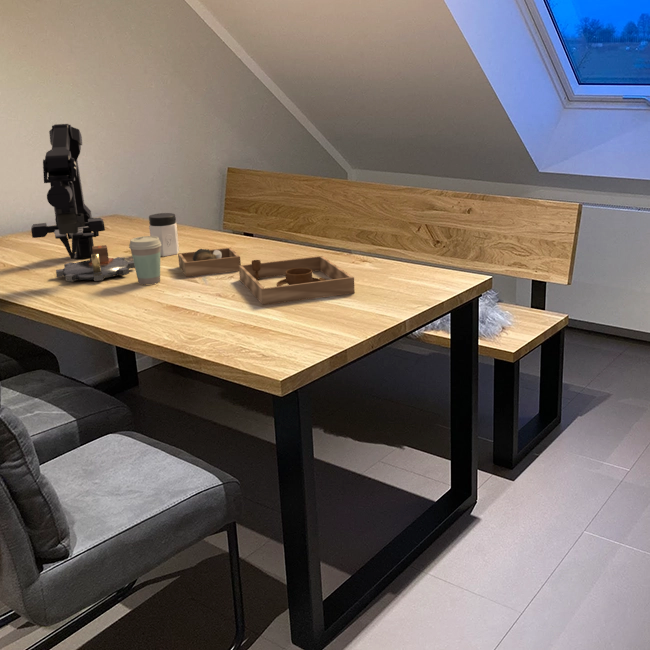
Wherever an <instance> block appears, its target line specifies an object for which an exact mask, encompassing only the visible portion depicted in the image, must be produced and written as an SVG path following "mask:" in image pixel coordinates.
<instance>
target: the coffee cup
mask: <svg viewBox="0 0 650 650" xmlns="http://www.w3.org/2000/svg"><path fill="white" fill-rule="evenodd" d="M128 246H129V247H128V248H129V249H130V252H131V256H132V261H133V262H134V266H135V268H134V269H135V273H136V278H137V282H138V284H139V285H141V284H144V285H143V286H146V285H145V284H152V285H155V283H156V284H159V283H160V282H161V256H160V246H161V242H160V240H159V238H158V237H155V236H150V235H146V236H145V235H144V236H137V237H134V238H131V239H130V241H129V245H128ZM158 282H159V283H158Z"/></svg>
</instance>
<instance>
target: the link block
mask: <svg viewBox="0 0 650 650" xmlns="http://www.w3.org/2000/svg"><path fill="white" fill-rule="evenodd" d="M92 249H93V254H99V260H100V262H107V261H109V258H110V257H109V252H108V246H107V244H104V245H94V246H93V247H92Z"/></svg>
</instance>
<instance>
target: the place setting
mask: <svg viewBox="0 0 650 650" xmlns="http://www.w3.org/2000/svg"><path fill="white" fill-rule="evenodd" d="M261 261H262V260H261V259H253V260H251V264H252V269H253V271H256V272H255V273H256V275H255V278H256V280H257V281H260V278H259V275H258V271H259V270H260V269H261V263H262V262H261ZM285 274H286V275H285V278H284V279H281V280H278V281H277V282H276V287H277V286H285V285H293V284H301V283H309V282H317V281H325V280H327V279H326V278H323V277H319V278H318V277H314V276H313V272H312V270H311V269H308V268H293V269H289V270H287V271H286V272H285Z"/></svg>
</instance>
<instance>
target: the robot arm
mask: <svg viewBox="0 0 650 650" xmlns="http://www.w3.org/2000/svg"><path fill="white" fill-rule="evenodd" d="M48 133H49V143H50V145H51V149H50V150H48V151H46V152H45V155H44V157H45V158H44V159H43V160H42V168H43V170H42V171H43V182H44V183H43V184H50V188H49V189H48V191H47V193H46V199H47V202H48V204H49V205H50V206H52V207H53V209H54V217H55V219H54V220H55V225H47V224H48V223H47V222H44V223H32V225H31V230H30V231H31V236H32V239H36V238H39V239H40V238H45V237H46V236H47V235H48V234H50V233H52V234H54V239H59V240H60V241H61V243H62V244H63V246H64V248H65V249H66V251H67V253H68V255H69V258H70V259H71V260H75V259H76V260H79V259H80V258H81V259H88V258H89V259H90V258H92V257H91V254H93V249H92V247H93V246H95V245H94V244H95V243H94V238H97V237H99V236H100V232H104V231H106V229H105V228H106V227H105V222H104V220H103V218H102V217H93V216H92V211H91V209H89V207H88V206H87V205H86V204H85V200H84V194H83V193H84V192H83V186H82V181H81V174H80V168H79V163H78V162H79V161H78V158H79V156H80V154H81V151H82V146H83V137H82V132H80V129H78V128H76V127H73V126H72V125H71V124H69V123H60V124H59V123H58V124H57V123H56V124H54V125H53V124H52V125H51V129H50V130H49V132H48ZM69 240H71V246H70V242H69Z"/></svg>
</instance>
